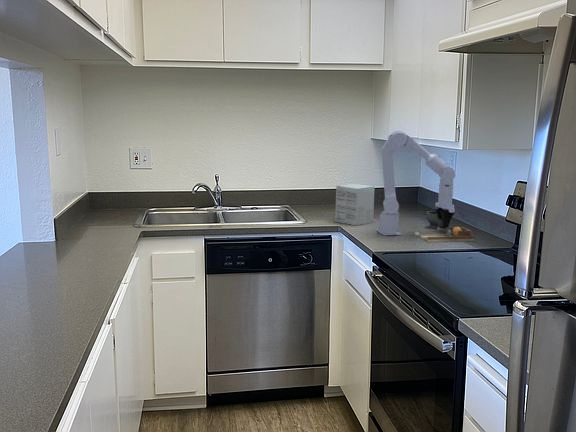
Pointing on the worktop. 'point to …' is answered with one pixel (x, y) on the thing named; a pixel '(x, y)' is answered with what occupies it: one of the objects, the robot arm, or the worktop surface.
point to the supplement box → (354, 204)
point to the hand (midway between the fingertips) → (443, 226)
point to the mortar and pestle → (432, 219)
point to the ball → (456, 231)
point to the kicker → (440, 227)
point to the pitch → (441, 237)
